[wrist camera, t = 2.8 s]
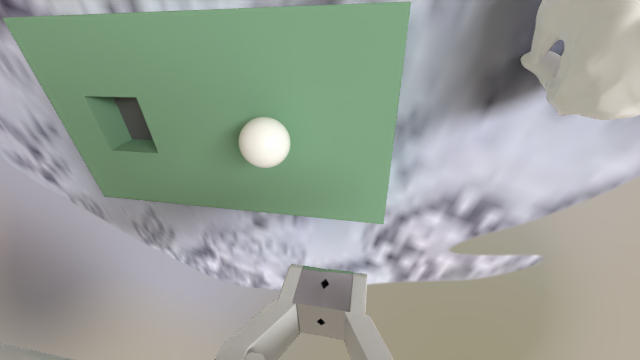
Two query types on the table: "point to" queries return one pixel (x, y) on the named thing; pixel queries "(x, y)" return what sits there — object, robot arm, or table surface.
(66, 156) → the table surface
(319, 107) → the green
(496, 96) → the table surface
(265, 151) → the ball
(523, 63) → the white snowman figurine
